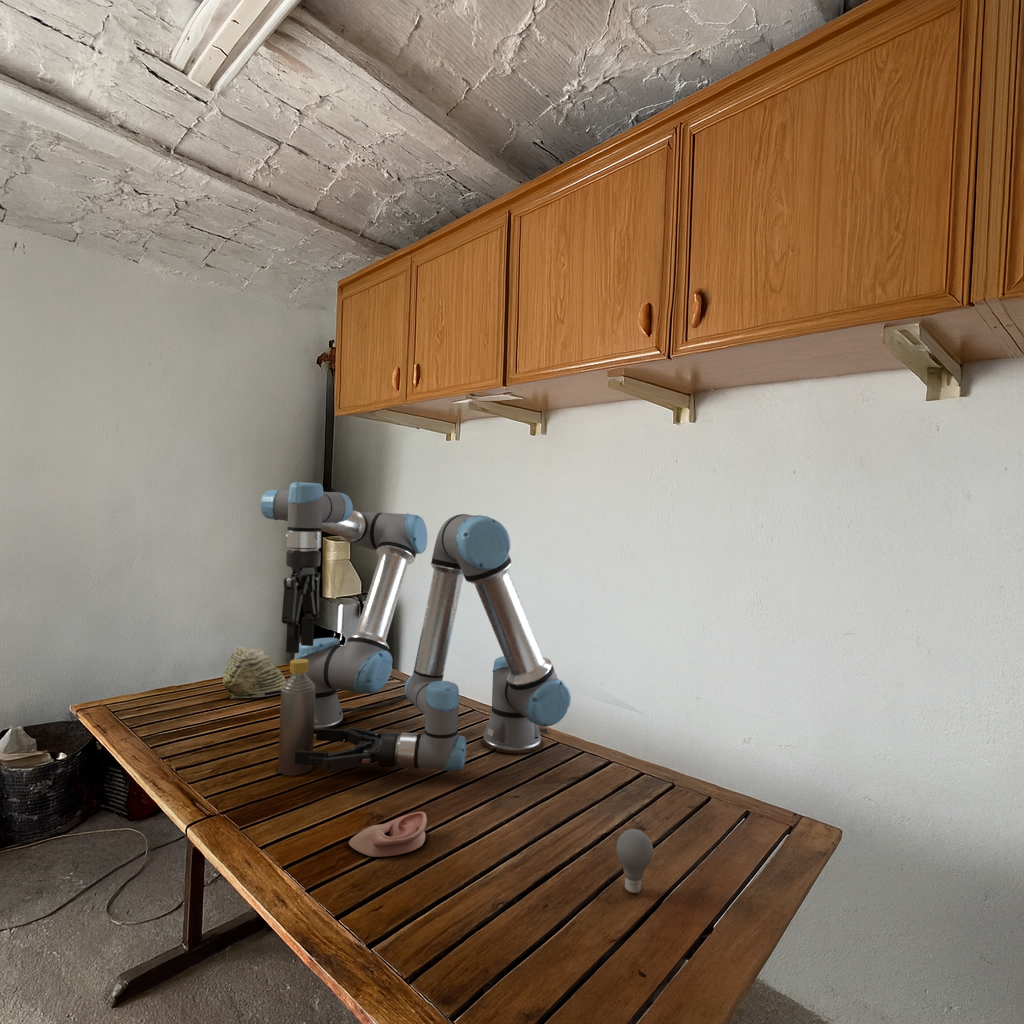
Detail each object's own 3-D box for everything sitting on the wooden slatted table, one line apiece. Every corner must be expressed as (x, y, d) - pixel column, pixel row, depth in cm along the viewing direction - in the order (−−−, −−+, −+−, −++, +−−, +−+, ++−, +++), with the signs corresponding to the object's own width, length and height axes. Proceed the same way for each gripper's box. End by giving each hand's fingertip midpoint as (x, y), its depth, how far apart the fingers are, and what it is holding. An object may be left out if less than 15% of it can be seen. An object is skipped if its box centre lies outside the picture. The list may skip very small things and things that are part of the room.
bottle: (278, 763, 149) (282, 659, 149) (312, 760, 152) (316, 657, 151) (277, 777, 142) (281, 667, 142) (313, 773, 145) (317, 666, 144)
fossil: (218, 695, 195) (220, 647, 195) (278, 685, 208) (279, 640, 207) (228, 703, 189) (230, 653, 188) (289, 692, 201) (290, 645, 201)
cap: (289, 669, 148) (290, 659, 148) (308, 668, 149) (308, 658, 149) (289, 674, 144) (290, 663, 144) (308, 673, 145) (309, 662, 145)
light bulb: (610, 879, 108) (613, 822, 108) (644, 879, 109) (647, 822, 109) (619, 902, 102) (622, 840, 102) (655, 901, 103) (658, 840, 103)
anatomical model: (341, 830, 113) (368, 800, 124) (340, 851, 113) (367, 820, 124) (411, 841, 110) (433, 810, 122) (411, 863, 111) (432, 830, 122)
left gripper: (307, 545, 156) (304, 638, 157) (266, 551, 137) (262, 657, 137) (336, 547, 155) (332, 640, 156) (299, 553, 136) (295, 660, 136)
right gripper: (385, 791, 133) (285, 785, 133) (407, 745, 158) (323, 740, 158) (386, 755, 133) (286, 750, 133) (409, 715, 157) (324, 711, 158)
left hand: (300, 648), depth 146 cm, fingers open, 6 cm apart
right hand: (306, 745), depth 146 cm, fingers open, 13 cm apart
